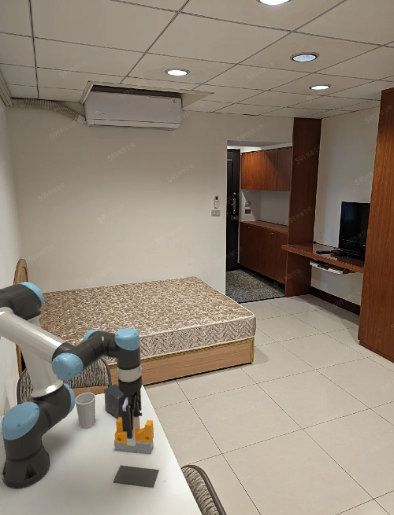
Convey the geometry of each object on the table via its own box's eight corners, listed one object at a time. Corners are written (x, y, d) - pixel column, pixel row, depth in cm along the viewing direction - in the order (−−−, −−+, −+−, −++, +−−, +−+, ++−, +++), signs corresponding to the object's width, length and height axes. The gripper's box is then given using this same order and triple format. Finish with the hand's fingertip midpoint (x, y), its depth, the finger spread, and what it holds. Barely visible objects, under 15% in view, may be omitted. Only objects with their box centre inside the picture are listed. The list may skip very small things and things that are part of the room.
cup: (101, 421, 148) (99, 396, 146) (86, 432, 142) (84, 406, 139) (88, 415, 153) (86, 390, 150) (73, 425, 146) (70, 400, 143)
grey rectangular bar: (114, 450, 133) (114, 440, 132) (118, 442, 136) (118, 433, 136) (150, 454, 131) (150, 444, 130) (153, 446, 134) (153, 437, 134)
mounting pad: (113, 482, 118) (113, 481, 118) (120, 466, 125) (120, 465, 125) (153, 487, 116) (153, 486, 116) (158, 470, 123) (158, 469, 123)
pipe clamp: (115, 442, 116) (113, 425, 115) (120, 433, 120) (118, 417, 119) (150, 446, 114) (149, 429, 113) (153, 437, 118) (152, 420, 117)
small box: (131, 413, 153) (130, 392, 151) (119, 421, 149) (117, 399, 146) (116, 403, 160) (115, 383, 158) (104, 410, 155) (103, 389, 153)
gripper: (132, 393, 103) (136, 460, 108) (148, 363, 120) (151, 422, 125) (107, 391, 105) (113, 458, 110) (128, 362, 121) (131, 421, 126)
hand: (133, 439), depth 117 cm, fingers closed on pipe clamp, 4 cm apart
